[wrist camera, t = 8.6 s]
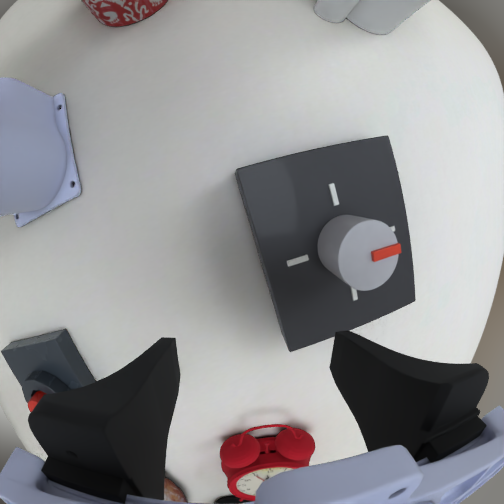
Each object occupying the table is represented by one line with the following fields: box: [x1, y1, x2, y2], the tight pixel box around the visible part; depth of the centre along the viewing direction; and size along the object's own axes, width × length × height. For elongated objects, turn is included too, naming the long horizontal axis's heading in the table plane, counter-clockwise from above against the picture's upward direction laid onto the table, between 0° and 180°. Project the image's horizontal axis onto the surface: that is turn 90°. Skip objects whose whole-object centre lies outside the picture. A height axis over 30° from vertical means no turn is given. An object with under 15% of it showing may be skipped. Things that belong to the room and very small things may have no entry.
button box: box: [1, 329, 96, 403], centre depth 19 cm, size 12×10×4 cm
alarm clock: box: [220, 424, 315, 501], centre depth 23 cm, size 10×6×15 cm
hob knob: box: [318, 215, 401, 291], centre depth 16 cm, size 4×4×4 cm
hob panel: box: [235, 136, 415, 352], centre depth 19 cm, size 13×11×3 cm
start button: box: [28, 391, 46, 412], centre depth 17 cm, size 4×4×2 cm
